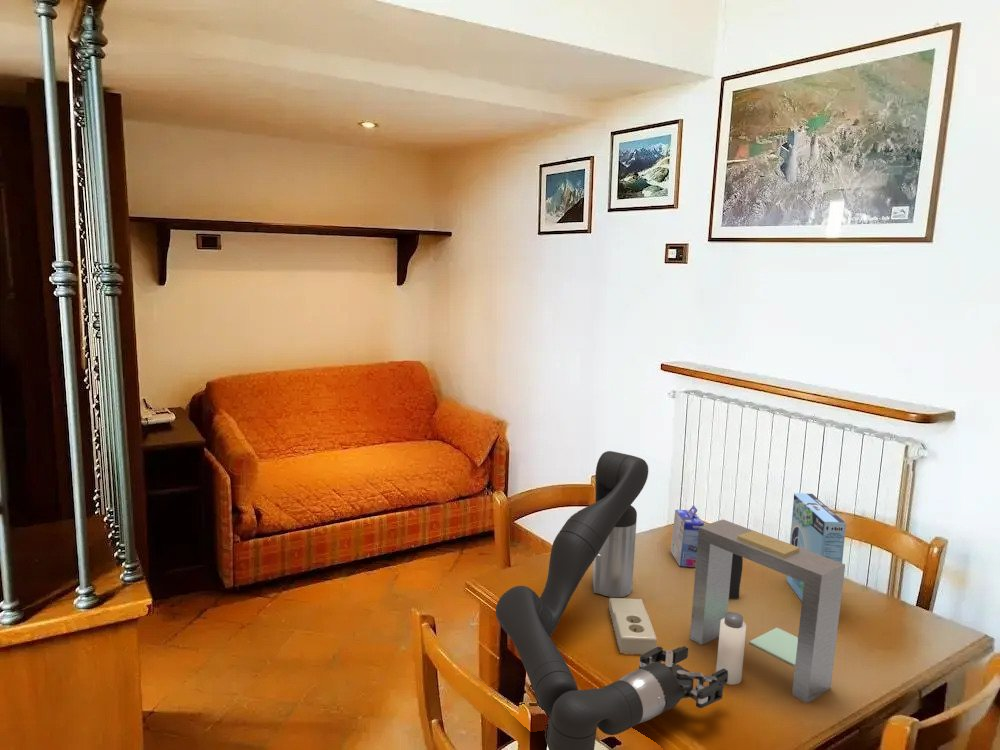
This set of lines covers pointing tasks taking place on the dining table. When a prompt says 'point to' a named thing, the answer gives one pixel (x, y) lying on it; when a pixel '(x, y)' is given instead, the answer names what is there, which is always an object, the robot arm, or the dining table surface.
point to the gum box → (815, 532)
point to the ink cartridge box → (685, 537)
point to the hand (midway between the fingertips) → (705, 662)
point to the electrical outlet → (632, 626)
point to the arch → (785, 558)
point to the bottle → (731, 646)
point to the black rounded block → (735, 576)
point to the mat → (778, 644)
